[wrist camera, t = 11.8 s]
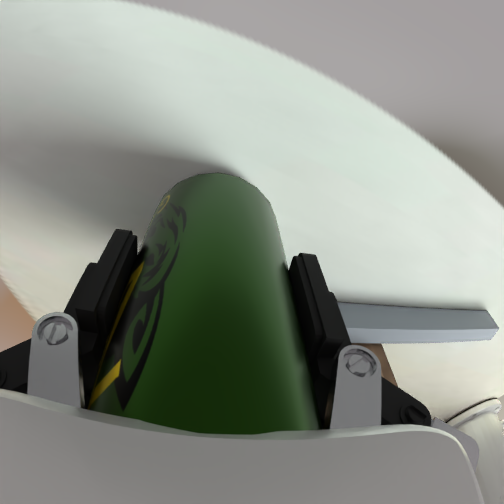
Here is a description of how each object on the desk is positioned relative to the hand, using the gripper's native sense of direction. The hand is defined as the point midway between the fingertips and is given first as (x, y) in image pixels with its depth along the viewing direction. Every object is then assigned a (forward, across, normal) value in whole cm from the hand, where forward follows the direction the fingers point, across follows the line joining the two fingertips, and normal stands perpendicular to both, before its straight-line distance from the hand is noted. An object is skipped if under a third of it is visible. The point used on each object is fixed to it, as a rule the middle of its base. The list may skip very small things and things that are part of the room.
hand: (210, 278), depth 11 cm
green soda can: (+4, 0, 0) cm, 4 cm away
